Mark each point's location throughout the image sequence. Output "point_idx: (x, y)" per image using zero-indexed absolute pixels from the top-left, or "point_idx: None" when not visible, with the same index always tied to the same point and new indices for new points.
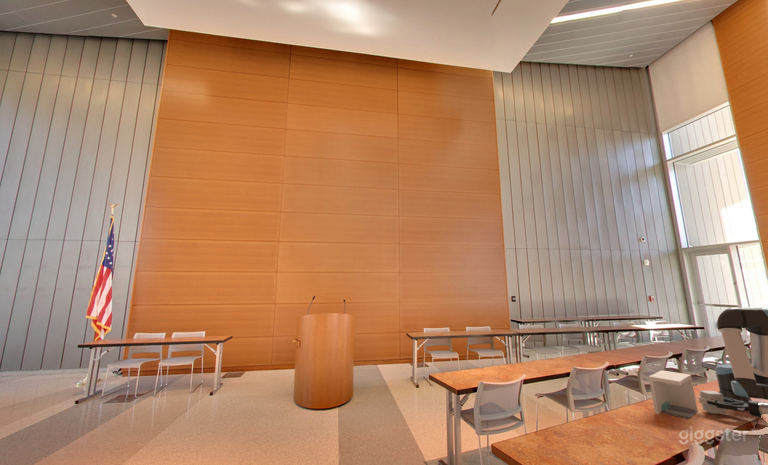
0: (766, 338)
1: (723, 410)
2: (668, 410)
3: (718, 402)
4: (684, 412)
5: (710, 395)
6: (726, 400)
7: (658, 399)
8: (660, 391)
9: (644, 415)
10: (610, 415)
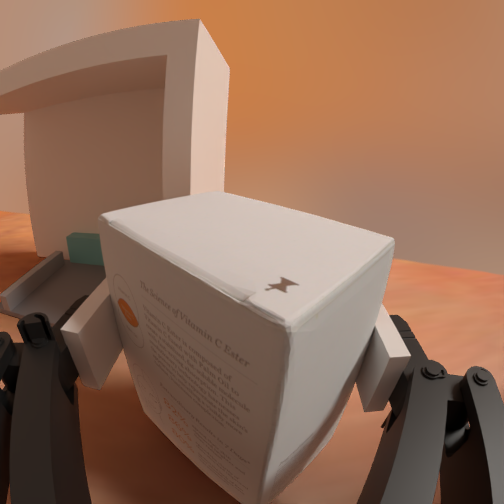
0: None
1: (229, 486)
2: (49, 257)
3: (23, 358)
4: None
5: (114, 251)
6: (384, 464)
7: (52, 202)
8: (88, 170)
9: (17, 241)
10: (7, 217)
